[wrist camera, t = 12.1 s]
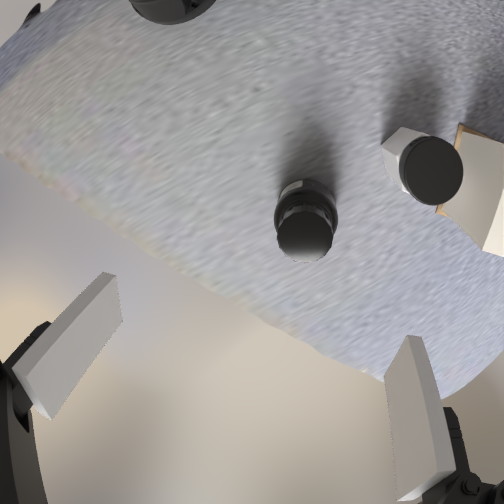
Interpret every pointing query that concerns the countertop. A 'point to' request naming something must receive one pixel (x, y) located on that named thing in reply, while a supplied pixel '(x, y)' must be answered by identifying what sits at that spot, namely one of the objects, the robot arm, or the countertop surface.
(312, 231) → the ink bottle
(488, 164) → the cover
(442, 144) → the jar
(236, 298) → the countertop surface
